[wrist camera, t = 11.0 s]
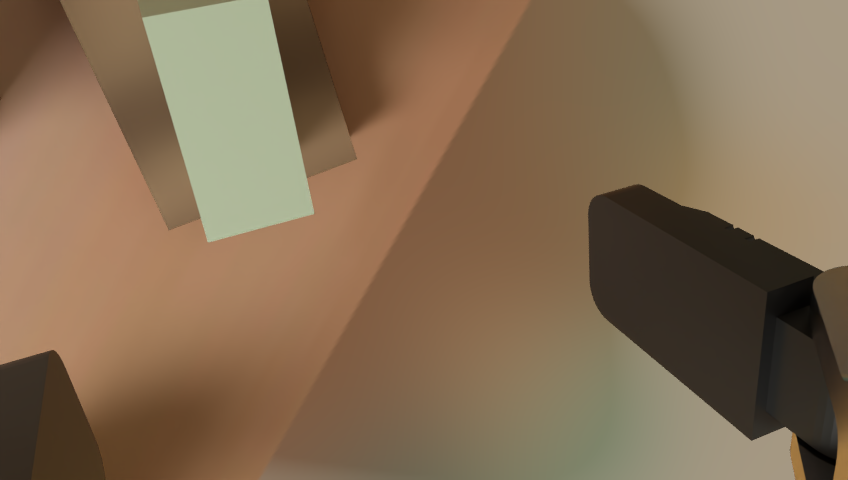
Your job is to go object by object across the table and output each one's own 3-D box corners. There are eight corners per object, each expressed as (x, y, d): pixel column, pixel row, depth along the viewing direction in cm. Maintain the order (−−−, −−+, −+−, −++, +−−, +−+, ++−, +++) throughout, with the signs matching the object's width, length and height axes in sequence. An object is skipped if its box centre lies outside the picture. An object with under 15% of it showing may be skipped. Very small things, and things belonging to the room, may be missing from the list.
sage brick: (136, -4, 25) (141, 17, 20) (237, -22, 26) (267, -6, 21) (191, 182, 28) (208, 242, 23) (279, 160, 29) (314, 213, 24)
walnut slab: (52, -36, 27) (45, -30, 24) (262, -97, 28) (276, -98, 26) (165, 204, 31) (168, 230, 29) (338, 139, 33) (357, 158, 31)
